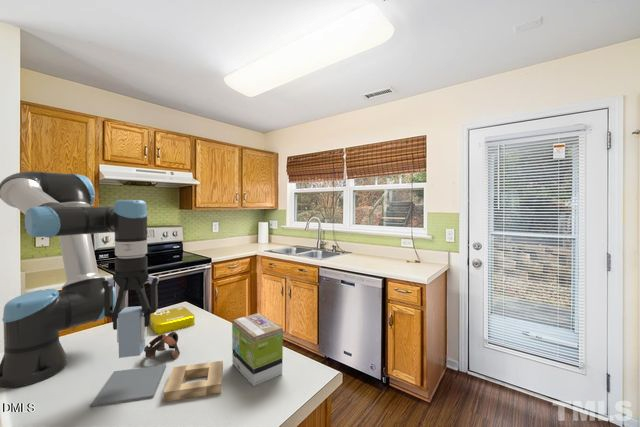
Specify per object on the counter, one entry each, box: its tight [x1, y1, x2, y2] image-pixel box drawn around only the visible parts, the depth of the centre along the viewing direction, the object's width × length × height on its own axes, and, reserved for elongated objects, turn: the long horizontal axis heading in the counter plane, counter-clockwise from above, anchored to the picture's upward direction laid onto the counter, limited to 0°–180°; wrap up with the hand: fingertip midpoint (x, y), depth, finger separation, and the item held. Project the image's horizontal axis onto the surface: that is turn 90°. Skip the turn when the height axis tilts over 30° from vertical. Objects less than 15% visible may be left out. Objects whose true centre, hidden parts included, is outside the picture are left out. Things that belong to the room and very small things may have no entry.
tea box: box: [231, 312, 284, 387], centre depth 91 cm, size 15×10×15 cm, turn 40°
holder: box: [163, 360, 224, 402], centre depth 83 cm, size 14×12×2 cm
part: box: [118, 305, 146, 359], centre depth 82 cm, size 5×5×12 cm
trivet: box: [89, 364, 167, 408], centre depth 83 cm, size 14×15×1 cm
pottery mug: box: [143, 331, 181, 360], centre depth 99 cm, size 12×10×8 cm
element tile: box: [149, 306, 195, 335], centre depth 123 cm, size 15×15×5 cm
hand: (132, 338), depth 82 cm, fingers closed on part, 5 cm apart
